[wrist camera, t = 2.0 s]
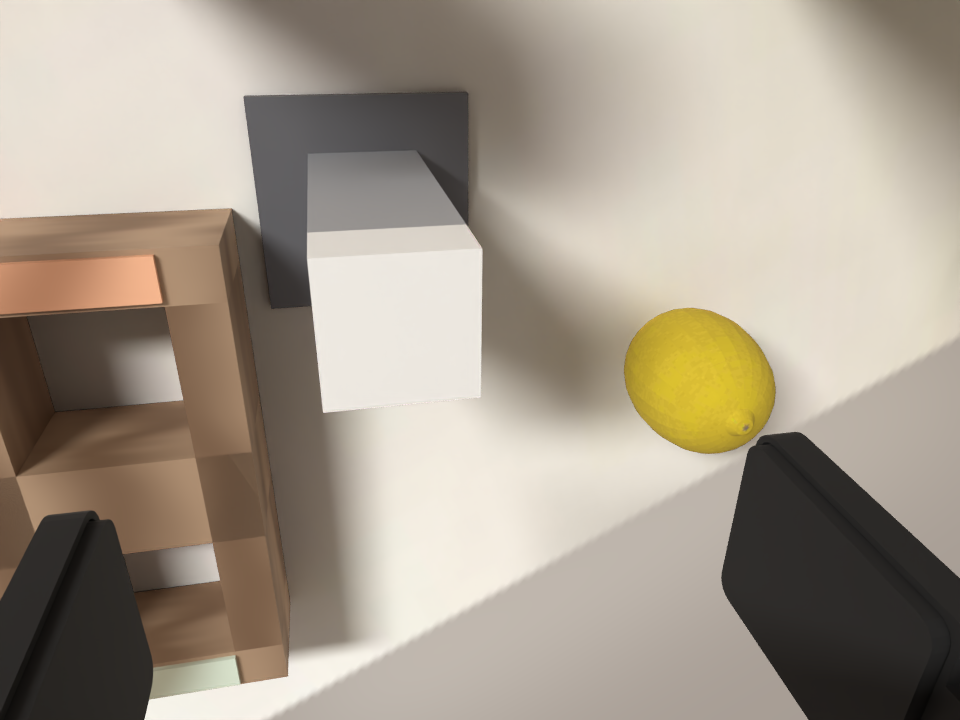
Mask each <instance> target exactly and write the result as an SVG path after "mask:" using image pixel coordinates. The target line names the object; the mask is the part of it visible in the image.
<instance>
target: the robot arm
mask: <svg viewBox="0 0 960 720" xmlns="http://www.w3.org/2000/svg"><path fill="white" fill-rule="evenodd" d="M721 578H722V585H723V590H724V592H725V595H726V596H727V599H728V600H729V602H730V603H731V604H732V606H733V607H734V609H735V611H736V612H737V614H738V615H739V617H740V618H741V619H742V621H743V623H744V624H745V625H746V627H747V629H748V630H749V631H750V633H751V634H752V636H753V637H754V639H755V640H756V642H757V643H758V645H759V646H760V648H761V649H762V651H763V652H764V654H765V655H766V657H767V658H768V660H769V661H770V663H771V664H772V666H773V667H774V669H775V670H776V672H777V673H778V675H779V676H780V678H781V679H782V681H783V682H784V684H785V685H786V687H787V688H788V690H789V691H790V693H791V694H792V696H793V697H794V699H795V700H796V702H797V703H798V705H799V706H800V708H801V709H802V711H803V712H804V713H805V715H806V716H807V718H808V720H960V578H959V577H958V576H956V575H955V574H954V573H953V572H952V571H951V570H950V569H949V568H948V567H947V566H946V565H945V564H944V563H943V562H941V561H940V560H939V559H938V558H937V557H936V556H935V555H934V554H933V553H932V552H931V551H929V550H928V549H927V548H926V547H925V546H924V545H923V544H922V543H921V542H920V541H919V540H918V539H916V538H915V537H914V536H913V535H912V534H911V533H910V532H909V531H908V530H907V529H906V528H905V527H904V526H902V525H901V524H900V523H899V522H898V521H897V520H896V519H895V518H894V517H893V516H892V515H891V514H889V513H888V512H887V511H886V510H885V509H884V508H883V507H882V506H881V505H880V504H879V503H877V502H876V501H875V500H874V499H873V498H872V497H871V496H870V495H869V494H868V493H867V492H866V491H865V490H863V489H862V488H861V487H860V486H859V485H858V484H857V483H856V482H855V481H854V480H853V479H852V478H850V477H849V476H848V475H847V474H846V473H845V472H844V471H842V469H841V468H839V466H837V465H836V464H835V463H834V462H833V461H832V460H831V459H830V458H829V457H828V456H827V455H826V454H824V453H823V452H822V451H821V450H820V449H819V448H818V447H817V446H815V444H814V443H813V442H811V441H810V440H809V439H808V438H807V437H806V436H805V435H803V434H802V433H799V432H790V433H781V434H772V435H765V436H762V437H760V439H759V440H758V441H757V443H756V446H753V447H751V448H750V449H749V451H748V454H747V457H746V463H745V467H744V471H743V476H742V481H741V485H740V491H739V495H738V500H737V504H736V509H735V514H734V518H733V523H732V528H731V532H730V537H729V542H728V546H727V551H726V556H725V560H724V565H723V570H722V577H721ZM152 683H153V661H152V656H151V652H150V649H149V645H148V642H147V638H146V634H145V631H144V627H143V624H142V620H141V617H140V613H139V610H138V606H137V603H136V599H135V596H134V592H133V588H132V585H131V581H130V578H129V574H128V571H127V567H126V564H125V560H124V557H123V553H122V550H121V546H120V542H119V539H118V535H117V532H116V528H115V526H114V523H113V522H112V520H110V519H106V520H100V519H99V516H98V515H97V513H96V512H95V511H92V510H88V511H79V512H70V513H61V514H52V515H47V516H45V517H44V518H43V519H42V521H41V522H40V524H39V526H38V528H37V530H36V532H35V534H34V536H33V537H32V539H31V541H30V543H29V545H28V547H27V549H26V551H25V553H24V555H23V557H22V559H21V561H20V563H19V565H18V567H17V569H16V571H15V573H14V575H13V577H12V579H11V580H10V582H9V584H8V586H7V588H6V590H5V592H4V594H3V596H2V598H1V600H0V720H144V718H145V714H146V710H147V706H148V701H149V697H150V693H151V688H152Z"/></svg>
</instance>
